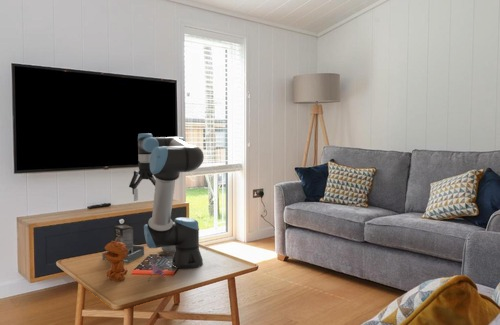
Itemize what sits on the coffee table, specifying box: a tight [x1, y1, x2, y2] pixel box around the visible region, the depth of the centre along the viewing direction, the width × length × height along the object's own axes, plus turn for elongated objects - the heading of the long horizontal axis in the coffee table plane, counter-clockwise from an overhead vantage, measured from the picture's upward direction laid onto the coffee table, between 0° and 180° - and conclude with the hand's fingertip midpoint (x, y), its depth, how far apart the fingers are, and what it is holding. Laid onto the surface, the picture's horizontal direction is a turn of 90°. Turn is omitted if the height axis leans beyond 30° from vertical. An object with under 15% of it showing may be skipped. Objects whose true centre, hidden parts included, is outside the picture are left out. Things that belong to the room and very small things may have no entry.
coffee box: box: [113, 224, 134, 259], centre depth 231 cm, size 9×6×16 cm
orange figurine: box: [102, 240, 129, 282], centre depth 198 cm, size 11×11×18 cm
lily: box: [147, 257, 166, 283], centre depth 197 cm, size 12×12×10 cm
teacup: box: [160, 246, 175, 254], centre depth 244 cm, size 14×11×8 cm
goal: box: [101, 244, 145, 263], centre depth 232 cm, size 16×14×5 cm
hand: (146, 201), depth 238 cm, fingers open, 13 cm apart
